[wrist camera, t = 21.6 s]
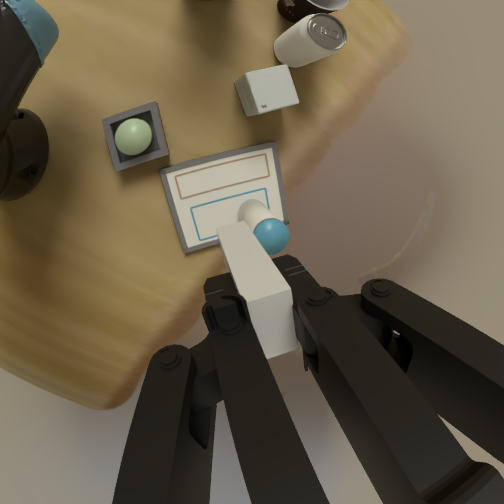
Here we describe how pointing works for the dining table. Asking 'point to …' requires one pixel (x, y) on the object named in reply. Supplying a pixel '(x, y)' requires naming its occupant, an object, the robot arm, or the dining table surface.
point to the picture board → (222, 191)
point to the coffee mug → (308, 8)
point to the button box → (157, 145)
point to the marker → (264, 226)
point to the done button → (133, 136)
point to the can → (310, 40)
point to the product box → (266, 90)
